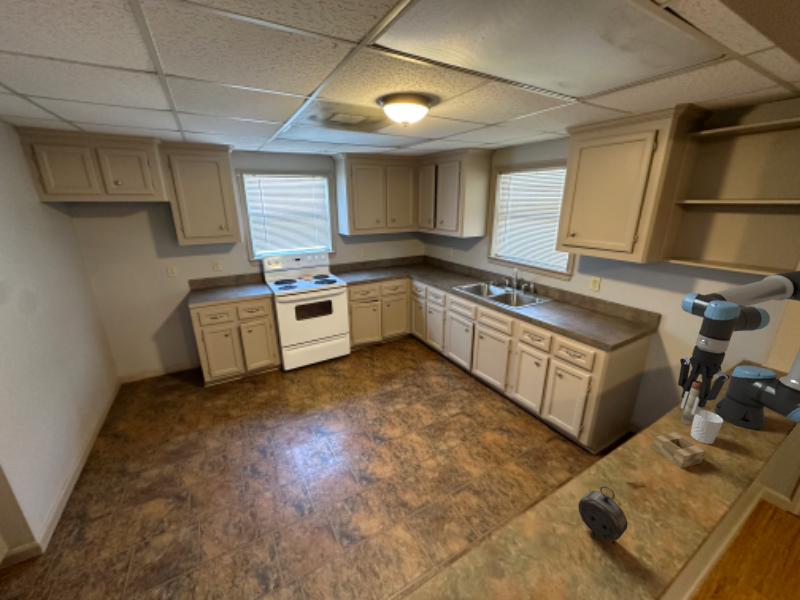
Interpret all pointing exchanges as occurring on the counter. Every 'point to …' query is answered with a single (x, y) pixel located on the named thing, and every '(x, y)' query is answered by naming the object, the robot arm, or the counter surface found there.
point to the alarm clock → (602, 515)
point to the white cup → (706, 426)
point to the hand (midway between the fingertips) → (689, 410)
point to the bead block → (678, 449)
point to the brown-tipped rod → (691, 403)
